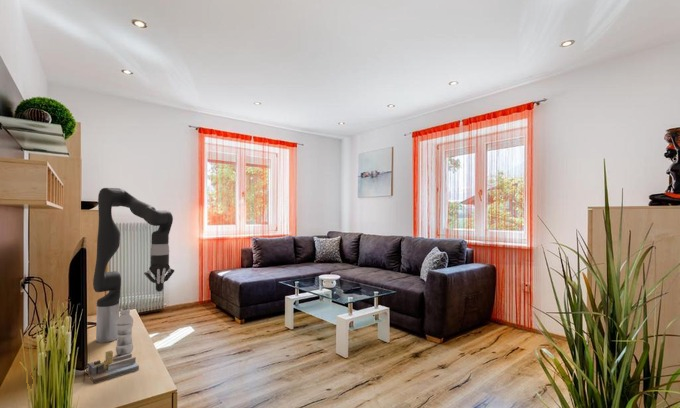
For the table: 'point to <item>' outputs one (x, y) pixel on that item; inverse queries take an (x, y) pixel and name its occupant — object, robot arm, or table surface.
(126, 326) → the silver threaded hollow container
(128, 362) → the lock board
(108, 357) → the bolt
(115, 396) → the table surface
